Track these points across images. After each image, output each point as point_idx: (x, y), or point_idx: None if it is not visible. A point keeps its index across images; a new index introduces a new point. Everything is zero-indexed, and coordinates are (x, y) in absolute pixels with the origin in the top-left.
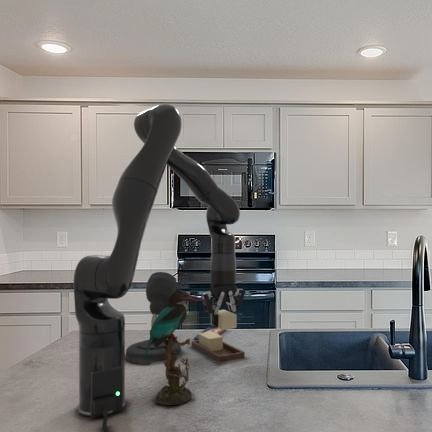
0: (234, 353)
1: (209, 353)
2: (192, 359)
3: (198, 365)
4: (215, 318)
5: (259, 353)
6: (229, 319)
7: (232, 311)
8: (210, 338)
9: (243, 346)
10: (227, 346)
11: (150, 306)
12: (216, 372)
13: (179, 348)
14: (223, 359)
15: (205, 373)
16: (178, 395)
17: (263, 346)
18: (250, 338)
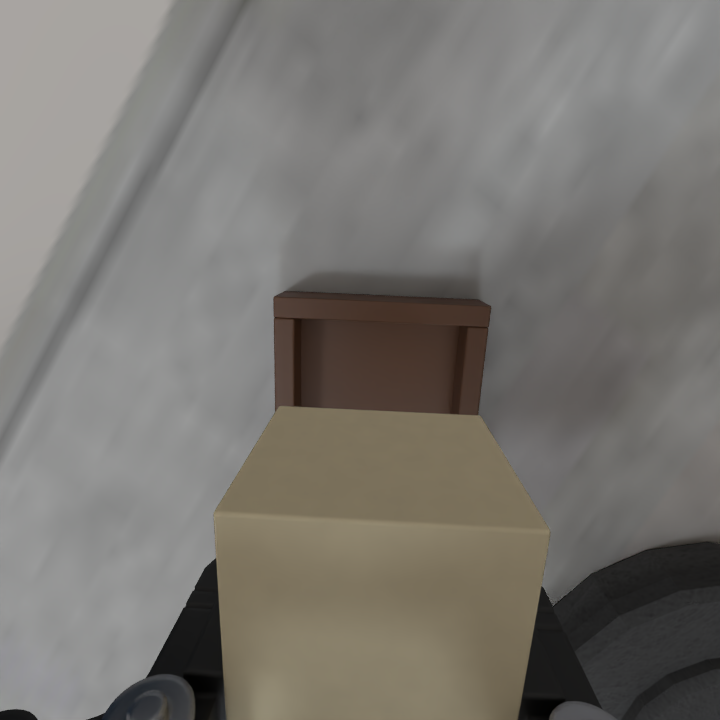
0: (354, 313)
1: None
2: (556, 486)
3: (596, 365)
4: (541, 651)
5: (141, 329)
6: (388, 473)
7: (192, 710)
8: None
9: (165, 512)
10: None
11: None
12: (593, 159)
13: (593, 627)
14: (453, 302)
15: (661, 190)
16: None
17: (51, 437)
18: (55, 614)
